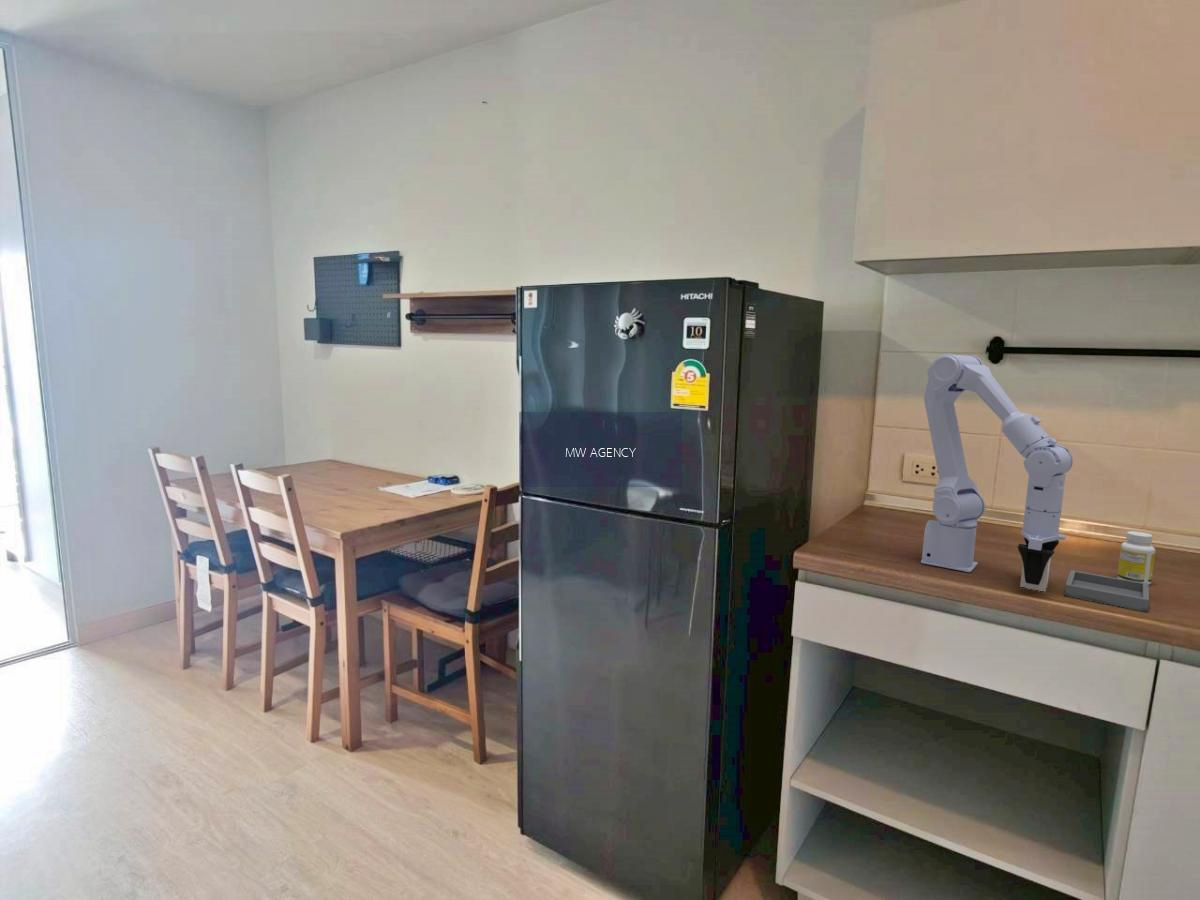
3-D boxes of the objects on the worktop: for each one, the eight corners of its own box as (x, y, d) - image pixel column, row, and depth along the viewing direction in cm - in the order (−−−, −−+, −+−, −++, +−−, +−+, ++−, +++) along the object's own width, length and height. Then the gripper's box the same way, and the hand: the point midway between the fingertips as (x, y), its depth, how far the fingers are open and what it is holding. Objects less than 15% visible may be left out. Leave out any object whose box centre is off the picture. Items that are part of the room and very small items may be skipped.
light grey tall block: (1020, 587, 129) (1024, 552, 128) (1022, 582, 132) (1026, 547, 131) (1044, 592, 127) (1049, 556, 126) (1047, 587, 130) (1051, 551, 129)
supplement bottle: (1135, 577, 138) (1142, 530, 137) (1158, 586, 133) (1165, 537, 131) (1109, 576, 138) (1116, 530, 136) (1131, 585, 132) (1138, 537, 131)
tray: (1064, 596, 125) (1065, 584, 125) (1069, 580, 134) (1070, 570, 134) (1147, 612, 118) (1149, 600, 117) (1146, 595, 127) (1148, 583, 127)
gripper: (1065, 519, 119) (1056, 593, 121) (1071, 506, 131) (1063, 574, 133) (1018, 512, 124) (1010, 584, 126) (1028, 501, 135) (1021, 567, 137)
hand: (1034, 579), depth 129 cm, fingers open, 7 cm apart
